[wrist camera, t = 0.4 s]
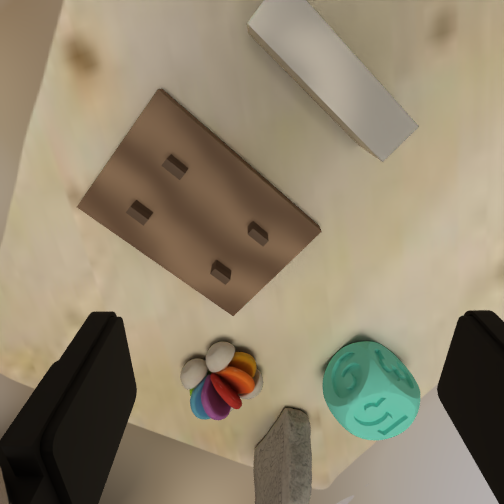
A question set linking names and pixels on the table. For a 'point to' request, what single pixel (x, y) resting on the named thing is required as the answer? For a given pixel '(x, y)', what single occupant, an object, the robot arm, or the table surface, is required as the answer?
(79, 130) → the table surface
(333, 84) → the gray rectangular block
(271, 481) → the decorative stone
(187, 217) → the brown board
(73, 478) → the robot arm
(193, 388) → the rainbow petal toy
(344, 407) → the decorative dice
